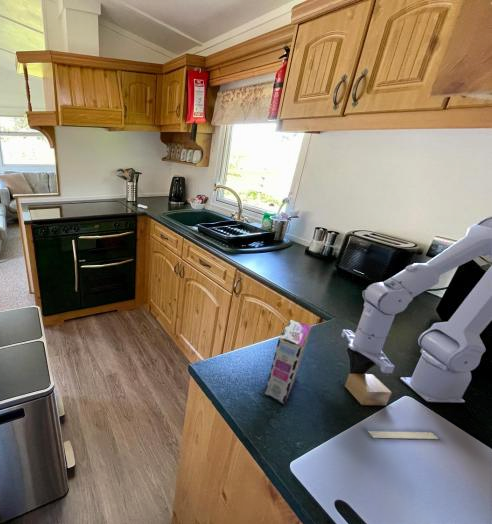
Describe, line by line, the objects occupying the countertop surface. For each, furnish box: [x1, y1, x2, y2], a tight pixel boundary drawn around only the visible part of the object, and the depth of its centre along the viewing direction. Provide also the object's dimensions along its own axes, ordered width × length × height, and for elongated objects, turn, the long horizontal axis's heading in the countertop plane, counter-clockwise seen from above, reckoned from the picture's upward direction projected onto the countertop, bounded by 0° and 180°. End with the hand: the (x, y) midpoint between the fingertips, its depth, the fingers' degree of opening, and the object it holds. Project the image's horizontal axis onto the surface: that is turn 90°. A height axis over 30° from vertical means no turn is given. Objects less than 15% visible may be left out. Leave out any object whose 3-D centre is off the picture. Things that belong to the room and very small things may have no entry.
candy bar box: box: [264, 319, 312, 405], centre depth 70 cm, size 11×5×16 cm, turn 141°
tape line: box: [367, 430, 439, 440], centre depth 61 cm, size 14×2×1 cm, turn 91°
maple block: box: [344, 373, 393, 406], centre depth 70 cm, size 6×6×4 cm
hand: (355, 376), depth 74 cm, fingers closed
